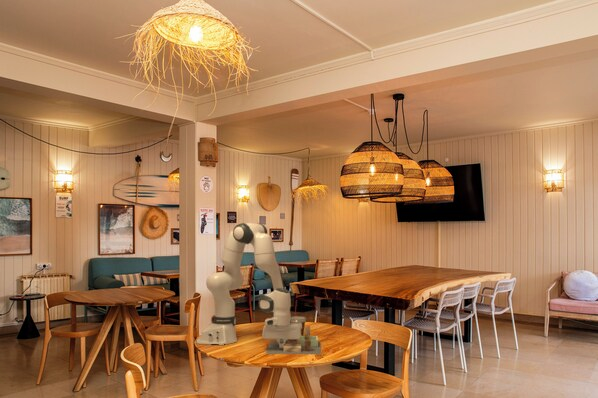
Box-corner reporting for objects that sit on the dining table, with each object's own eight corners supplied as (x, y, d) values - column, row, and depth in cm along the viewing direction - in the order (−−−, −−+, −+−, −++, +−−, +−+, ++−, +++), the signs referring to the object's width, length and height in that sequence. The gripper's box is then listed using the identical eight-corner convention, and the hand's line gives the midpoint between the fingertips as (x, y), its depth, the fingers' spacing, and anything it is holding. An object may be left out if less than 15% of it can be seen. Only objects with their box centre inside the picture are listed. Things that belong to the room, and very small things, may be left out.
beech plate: (283, 352, 235) (283, 347, 235) (284, 348, 242) (284, 343, 242) (301, 352, 234) (301, 347, 235) (301, 348, 241) (301, 344, 242)
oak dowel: (304, 344, 248) (304, 326, 249) (304, 342, 251) (304, 325, 252) (309, 344, 248) (309, 327, 249) (310, 343, 251) (310, 326, 252)
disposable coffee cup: (304, 341, 261) (304, 319, 262) (287, 340, 263) (287, 318, 264) (307, 337, 270) (307, 316, 271) (291, 336, 272) (291, 315, 273)
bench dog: (304, 351, 236) (304, 341, 237) (304, 349, 239) (304, 339, 240) (310, 351, 236) (310, 341, 236) (310, 349, 239) (310, 339, 240)
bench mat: (265, 355, 231) (265, 353, 231) (270, 342, 257) (270, 341, 257) (321, 355, 231) (321, 354, 231) (320, 343, 257) (320, 341, 257)
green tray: (297, 346, 245) (297, 340, 245) (297, 342, 255) (297, 335, 255) (318, 347, 245) (318, 340, 245) (317, 342, 255) (317, 335, 255)
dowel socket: (275, 345, 247) (275, 340, 247) (276, 342, 253) (276, 337, 254) (287, 345, 247) (287, 340, 247) (288, 343, 253) (288, 337, 253)
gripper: (302, 319, 242) (302, 346, 241) (263, 319, 242) (263, 345, 241) (301, 322, 235) (301, 349, 235) (262, 321, 236) (261, 348, 235)
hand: (281, 347), depth 238 cm, fingers closed
